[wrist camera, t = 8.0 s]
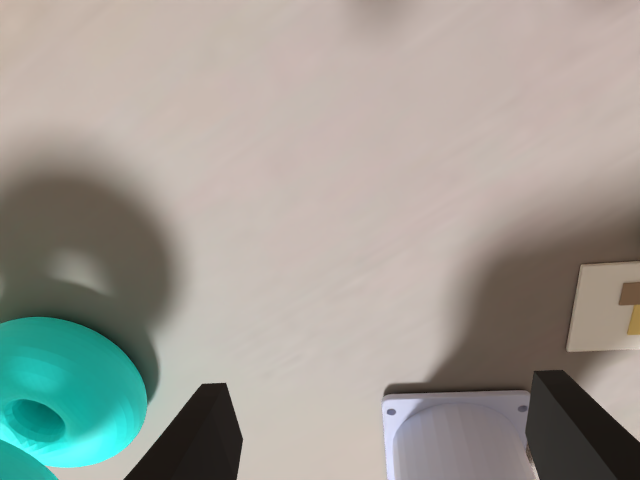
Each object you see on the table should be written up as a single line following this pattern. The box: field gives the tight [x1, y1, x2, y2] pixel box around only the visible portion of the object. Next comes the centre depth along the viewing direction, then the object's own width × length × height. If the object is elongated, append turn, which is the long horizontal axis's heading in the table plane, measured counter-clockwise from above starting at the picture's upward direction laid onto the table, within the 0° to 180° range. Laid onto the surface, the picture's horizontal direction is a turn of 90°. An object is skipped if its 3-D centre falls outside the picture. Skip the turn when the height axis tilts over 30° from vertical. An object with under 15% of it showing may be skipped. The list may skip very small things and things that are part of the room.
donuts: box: [0, 317, 147, 480], centre depth 21 cm, size 10×10×10 cm
